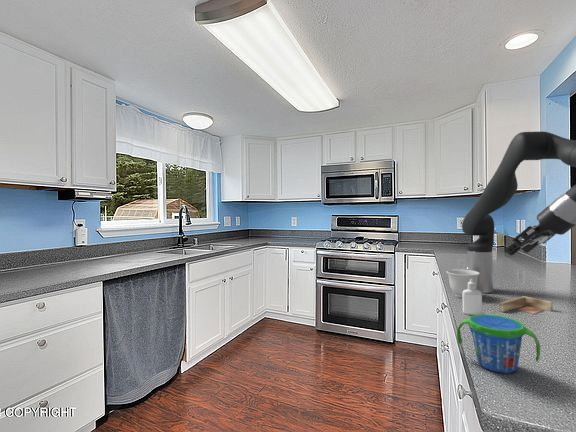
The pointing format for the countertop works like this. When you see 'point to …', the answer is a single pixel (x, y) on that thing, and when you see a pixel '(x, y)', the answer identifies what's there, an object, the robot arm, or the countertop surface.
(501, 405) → the countertop surface
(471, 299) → the eye dropper bottle
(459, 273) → the teacup
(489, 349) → the snack cup
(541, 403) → the countertop surface
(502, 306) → the tan l-shaped piece
